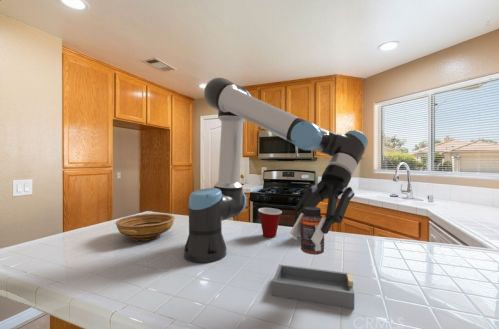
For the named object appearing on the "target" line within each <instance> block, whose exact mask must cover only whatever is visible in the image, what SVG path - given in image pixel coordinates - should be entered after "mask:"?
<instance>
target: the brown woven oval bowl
mask: <svg viewBox="0 0 499 329" xmlns="http://www.w3.org/2000/svg"><path fill="white" fill-rule="evenodd" d="M175 218H176V217H175V216H174V215H172V214H168V213H143V214H135V215H130V216H129V215H128V216H126V217H122V218H120V219H118V220H116V221H115V225H116V229H117V230H118V232H119V233H120V234H121V235H122V236H125V237H129V238H131V239H132V240H134V239H135V240H134V241H137V240H146V241H151V240H150V239H152V240H155V239H157V237H158V236H159V235H160V236H161V235H162V234H164V233H165V232H167V231H169V230H170V229H171V228H172V226H173V225H174V220H175ZM160 236H159V237H160ZM159 237H158V238H159ZM154 238H155V239H154Z"/></svg>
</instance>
